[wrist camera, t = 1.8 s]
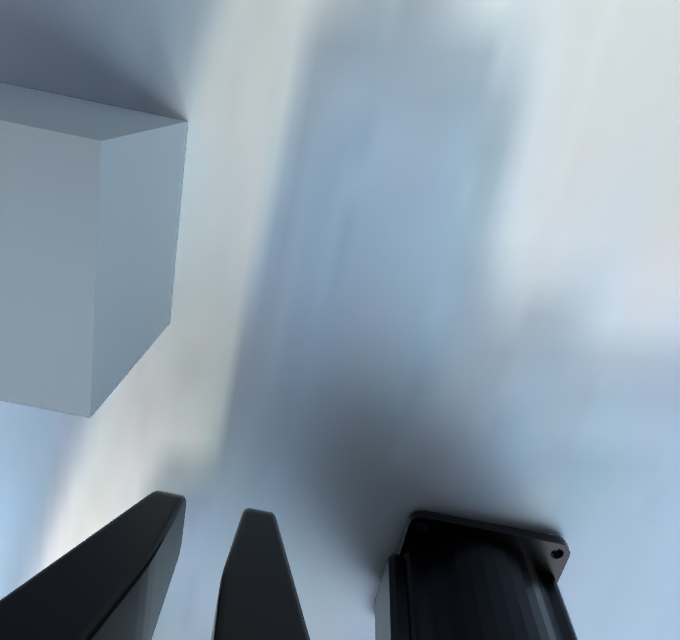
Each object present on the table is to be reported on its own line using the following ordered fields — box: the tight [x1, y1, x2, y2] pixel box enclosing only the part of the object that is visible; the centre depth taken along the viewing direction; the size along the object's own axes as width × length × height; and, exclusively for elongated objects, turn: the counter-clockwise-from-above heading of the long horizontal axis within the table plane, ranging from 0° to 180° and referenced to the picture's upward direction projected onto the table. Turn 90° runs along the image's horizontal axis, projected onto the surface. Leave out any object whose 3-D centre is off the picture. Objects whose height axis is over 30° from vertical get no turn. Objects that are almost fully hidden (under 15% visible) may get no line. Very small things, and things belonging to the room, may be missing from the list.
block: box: [0, 82, 188, 418], centre depth 17 cm, size 7×7×6 cm
